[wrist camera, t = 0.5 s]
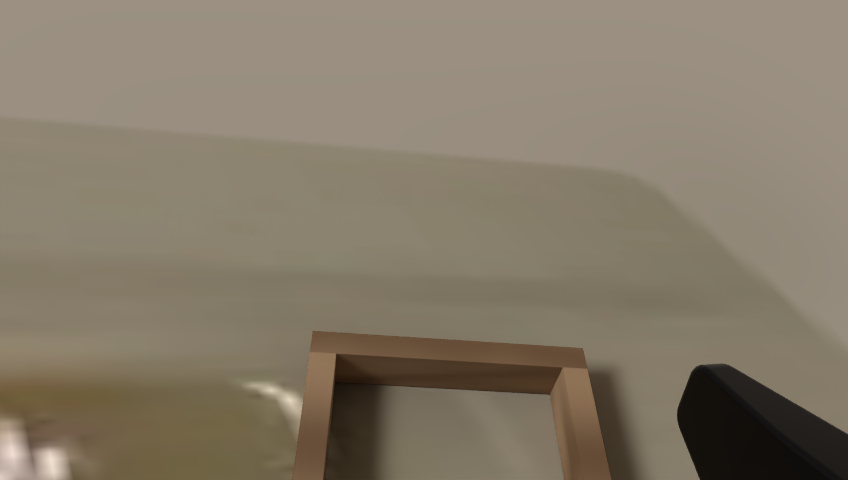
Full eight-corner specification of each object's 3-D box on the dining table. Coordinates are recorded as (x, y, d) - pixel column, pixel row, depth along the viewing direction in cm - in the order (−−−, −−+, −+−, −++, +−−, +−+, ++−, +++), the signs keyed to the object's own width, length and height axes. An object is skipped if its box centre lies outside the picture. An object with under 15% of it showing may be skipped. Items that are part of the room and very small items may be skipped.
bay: (617, 621, 22) (638, 602, 20) (279, 612, 21) (276, 592, 19) (569, 375, 28) (582, 348, 27) (313, 359, 27) (312, 330, 26)
